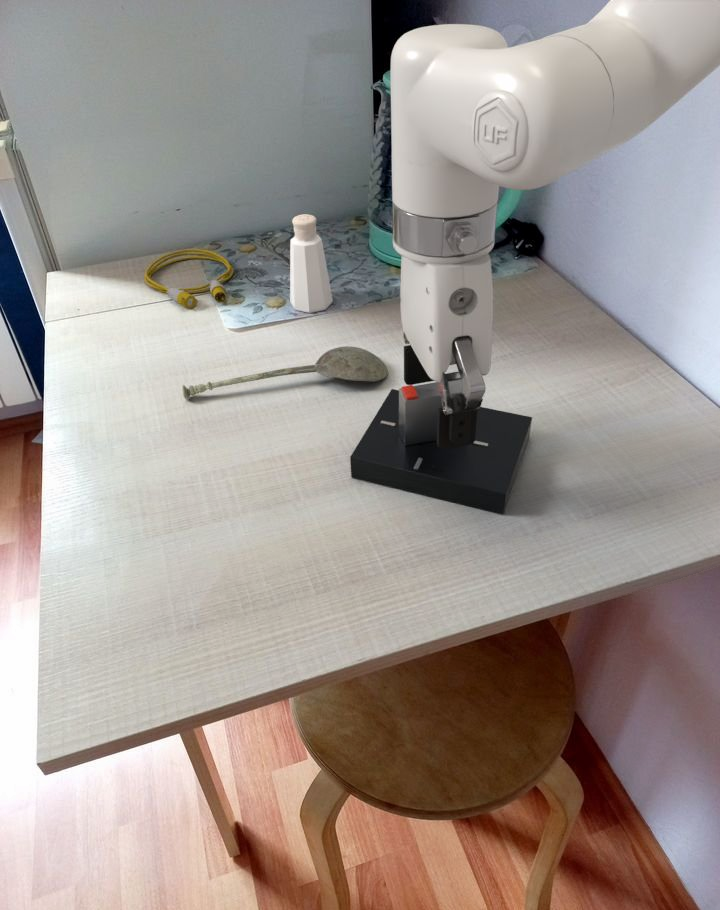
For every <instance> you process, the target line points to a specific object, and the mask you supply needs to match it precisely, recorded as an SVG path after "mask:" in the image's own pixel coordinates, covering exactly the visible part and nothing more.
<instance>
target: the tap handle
mask: <svg viewBox="0 0 720 910" xmlns="http://www.w3.org/2000/svg"><path fill="white" fill-rule="evenodd" d="M448 383H449V388H450V393H451V398H453V397H454V396H456V395H457V394H461V393H462V392H461V389H462V381H461V380H457V381H451V382H448ZM398 390H399V434H400V436H401V439H402V441H403V443H404V445H405V446H407V445H413V444H419V443H424V442H430V441H435V440H437V417H438V408H441V407H442V403H441V397H440V392H439V386H438V383H437V382H435V381H434V382H428V383H422V384H416V385H414V384H413V385H403V386H401V387H399V388H398Z"/></svg>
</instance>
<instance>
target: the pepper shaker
mask: <svg viewBox="0 0 720 910" xmlns="http://www.w3.org/2000/svg"><path fill="white" fill-rule="evenodd" d="M291 222H292V225H293V233H294V236H293V237H292V238H290V243H289V247H290V248H289V249H290V250H289V254H290V255H289V269H290V270H289V288H290V289H289V302H290V305H291V306H292V308H293V309H294V311H298V312H302V313H307V314H312V313H317V312H318V313H319V312H322V311H325V310H326V309H328V308H329V307H330V305H331V304H333V302H334V299H333V295H332V294H333V293H332V288H331V283H330V278H329V272H328V266H327V261H326V256H325V250H324V245H323V239H322V238H321V236H320V235H319V234H318V233H317V217H315V215H312V214H307V213H303V214H299V215H296V216H294V217H293V218H292V220H291Z"/></svg>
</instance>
